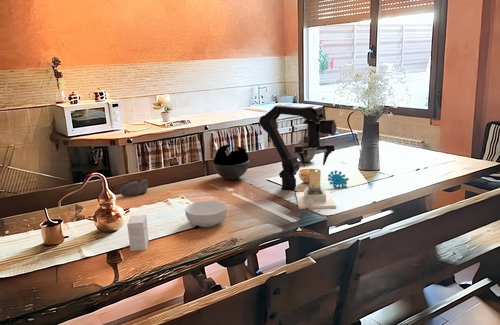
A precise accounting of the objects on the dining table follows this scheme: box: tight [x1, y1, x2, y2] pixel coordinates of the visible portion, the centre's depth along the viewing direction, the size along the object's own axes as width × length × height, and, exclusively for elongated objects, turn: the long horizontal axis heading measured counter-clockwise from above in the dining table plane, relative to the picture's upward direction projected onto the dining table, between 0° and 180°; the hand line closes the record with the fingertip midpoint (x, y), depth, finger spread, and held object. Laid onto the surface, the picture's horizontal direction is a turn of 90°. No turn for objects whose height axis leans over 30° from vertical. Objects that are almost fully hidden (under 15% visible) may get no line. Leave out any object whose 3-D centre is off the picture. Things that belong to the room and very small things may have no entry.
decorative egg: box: [295, 138, 316, 163], centre depth 265 cm, size 12×12×15 cm
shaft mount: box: [295, 186, 337, 210], centre depth 196 cm, size 16×23×4 cm
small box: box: [126, 214, 150, 252], centre depth 156 cm, size 8×6×10 cm
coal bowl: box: [212, 144, 250, 180], centre depth 235 cm, size 20×20×19 cm
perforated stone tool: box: [119, 178, 149, 197], centre depth 217 cm, size 15×5×7 cm, turn 117°
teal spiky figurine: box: [327, 170, 350, 190], centre depth 216 cm, size 11×6×10 cm
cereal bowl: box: [184, 200, 228, 228], centre depth 175 cm, size 17×17×7 cm
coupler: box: [307, 168, 322, 195], centre depth 195 cm, size 6×6×13 cm
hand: (313, 165), depth 206 cm, fingers open, 9 cm apart
